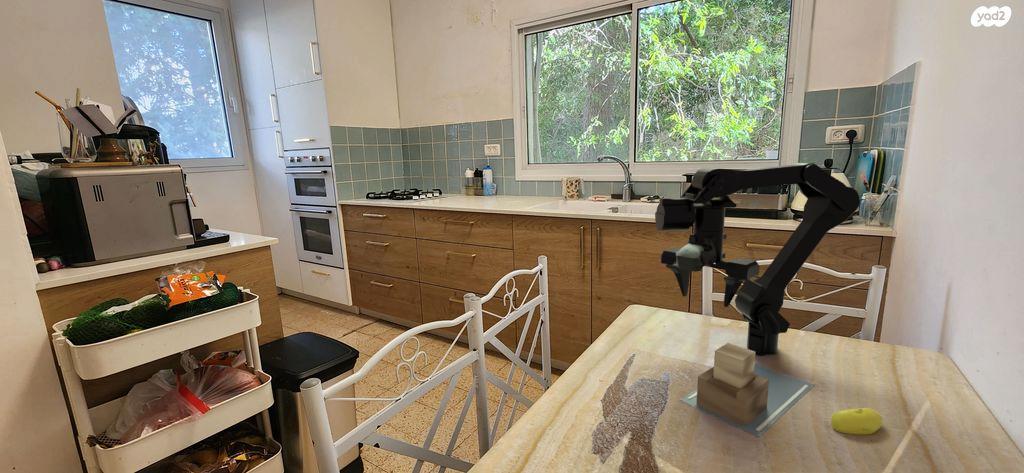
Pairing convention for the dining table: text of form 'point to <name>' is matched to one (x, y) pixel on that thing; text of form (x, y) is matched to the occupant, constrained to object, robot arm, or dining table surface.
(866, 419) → the yellow oval piece
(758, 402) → the base block
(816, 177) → the robot arm
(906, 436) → the dining table surface
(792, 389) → the board
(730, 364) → the oak block
